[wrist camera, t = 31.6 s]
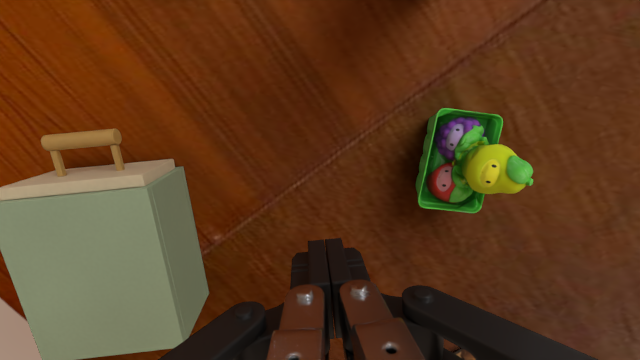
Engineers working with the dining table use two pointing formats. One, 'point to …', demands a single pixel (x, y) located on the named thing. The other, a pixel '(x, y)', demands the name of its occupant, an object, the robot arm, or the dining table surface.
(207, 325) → the robot arm
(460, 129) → the fruit basket
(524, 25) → the dining table surface
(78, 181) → the drawer
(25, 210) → the cabinet
